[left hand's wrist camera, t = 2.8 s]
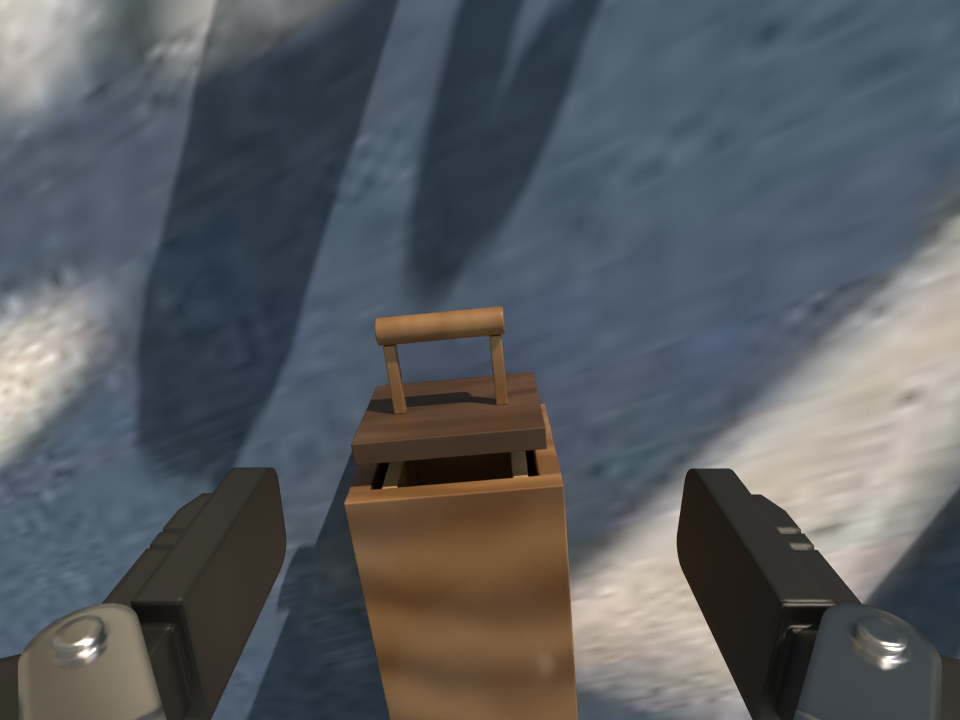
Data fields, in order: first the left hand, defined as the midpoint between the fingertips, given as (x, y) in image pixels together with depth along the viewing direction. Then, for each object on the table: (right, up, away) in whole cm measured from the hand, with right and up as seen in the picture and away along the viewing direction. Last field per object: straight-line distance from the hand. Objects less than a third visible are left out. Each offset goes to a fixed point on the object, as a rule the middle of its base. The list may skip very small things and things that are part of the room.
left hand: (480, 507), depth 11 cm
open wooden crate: (0, -11, +29) cm, 31 cm away
